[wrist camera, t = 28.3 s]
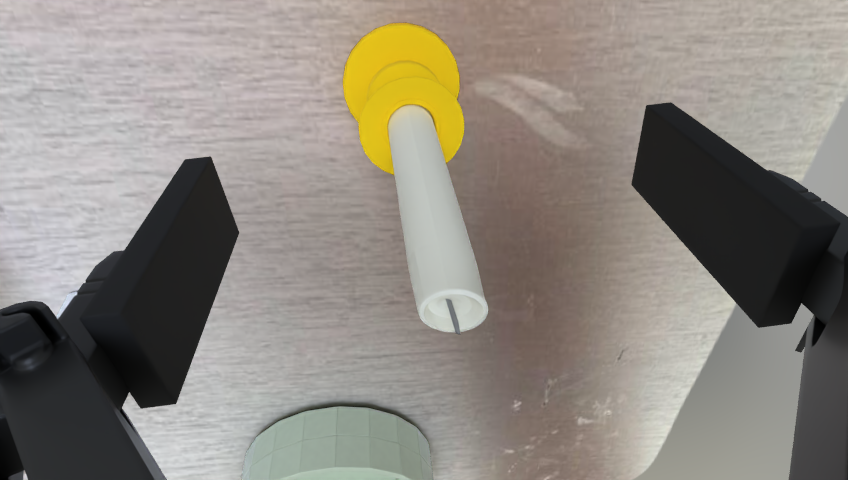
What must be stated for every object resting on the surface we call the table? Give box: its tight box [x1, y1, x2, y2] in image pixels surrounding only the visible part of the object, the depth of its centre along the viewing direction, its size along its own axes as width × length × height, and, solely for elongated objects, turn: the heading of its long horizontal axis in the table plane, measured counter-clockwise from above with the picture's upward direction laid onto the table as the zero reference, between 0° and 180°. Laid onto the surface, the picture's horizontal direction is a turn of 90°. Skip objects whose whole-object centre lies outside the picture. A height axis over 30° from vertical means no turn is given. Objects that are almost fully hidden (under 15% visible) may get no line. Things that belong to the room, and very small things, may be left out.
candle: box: [343, 23, 488, 334], centre depth 16 cm, size 5×5×16 cm
